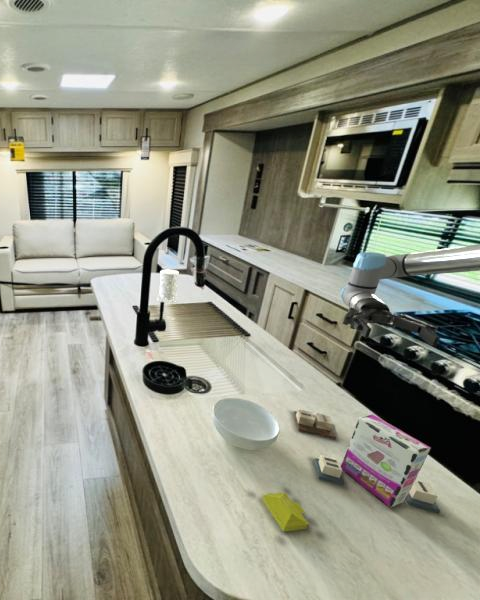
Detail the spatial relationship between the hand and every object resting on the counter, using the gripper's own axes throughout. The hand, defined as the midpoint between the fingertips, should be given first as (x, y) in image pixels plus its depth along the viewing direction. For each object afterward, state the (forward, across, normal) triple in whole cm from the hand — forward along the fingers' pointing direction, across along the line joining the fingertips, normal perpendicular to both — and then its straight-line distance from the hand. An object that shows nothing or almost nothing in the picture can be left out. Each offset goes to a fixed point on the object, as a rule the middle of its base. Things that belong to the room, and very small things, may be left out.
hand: (401, 337), depth 81 cm
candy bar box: (+23, +6, -30) cm, 38 cm away
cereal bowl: (+18, +34, -30) cm, 49 cm away
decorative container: (-86, +71, -30) cm, 115 cm away
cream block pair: (+5, +14, -30) cm, 34 cm away
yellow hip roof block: (+39, +26, -30) cm, 56 cm away
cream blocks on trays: (+23, +6, -30) cm, 38 cm away
